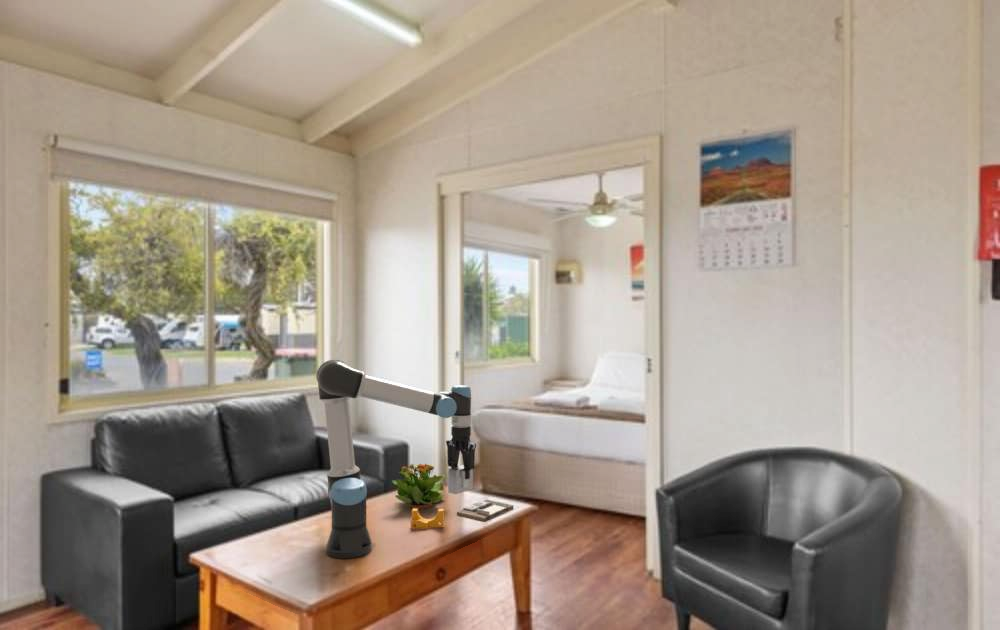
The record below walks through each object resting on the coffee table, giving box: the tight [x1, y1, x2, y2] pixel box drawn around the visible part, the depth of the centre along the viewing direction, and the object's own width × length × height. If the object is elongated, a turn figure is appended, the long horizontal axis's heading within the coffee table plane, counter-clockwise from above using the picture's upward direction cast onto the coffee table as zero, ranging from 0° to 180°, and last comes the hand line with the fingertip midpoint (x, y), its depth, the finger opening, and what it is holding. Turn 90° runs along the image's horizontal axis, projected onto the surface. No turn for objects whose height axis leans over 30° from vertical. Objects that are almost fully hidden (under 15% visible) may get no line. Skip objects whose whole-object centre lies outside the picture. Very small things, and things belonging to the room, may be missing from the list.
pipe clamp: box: [410, 508, 445, 530], centre depth 233 cm, size 12×4×6 cm, turn 86°
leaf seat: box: [477, 500, 509, 516], centre depth 249 cm, size 13×6×2 cm, turn 144°
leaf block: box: [447, 464, 474, 495], centre depth 236 cm, size 10×4×9 cm, turn 144°
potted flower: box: [391, 463, 447, 510], centre depth 259 cm, size 25×24×18 cm
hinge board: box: [456, 499, 514, 522], centre depth 251 cm, size 20×14×2 cm
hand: (460, 486), depth 236 cm, fingers closed on leaf block, 4 cm apart
